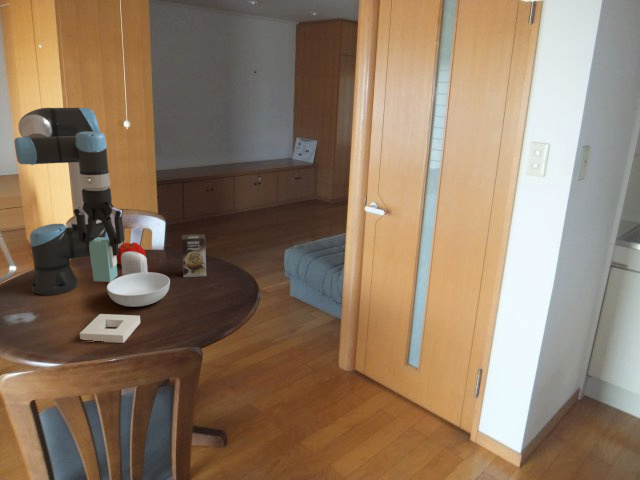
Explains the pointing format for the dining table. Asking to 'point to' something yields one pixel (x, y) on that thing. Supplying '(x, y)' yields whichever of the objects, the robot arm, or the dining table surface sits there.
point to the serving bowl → (138, 288)
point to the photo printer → (133, 263)
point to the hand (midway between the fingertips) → (104, 264)
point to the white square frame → (118, 335)
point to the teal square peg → (101, 260)
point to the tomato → (129, 247)
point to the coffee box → (194, 255)
